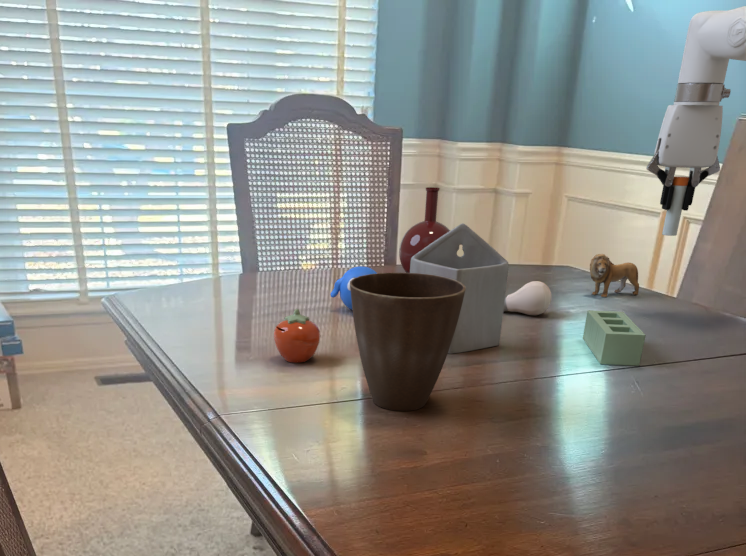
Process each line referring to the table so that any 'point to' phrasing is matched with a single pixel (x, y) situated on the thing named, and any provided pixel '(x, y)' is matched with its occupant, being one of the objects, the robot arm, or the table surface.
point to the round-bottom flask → (422, 231)
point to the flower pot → (404, 333)
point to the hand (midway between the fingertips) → (674, 208)
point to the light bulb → (529, 299)
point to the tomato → (296, 338)
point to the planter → (469, 284)
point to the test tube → (675, 206)
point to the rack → (613, 338)
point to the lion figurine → (612, 274)
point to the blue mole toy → (344, 283)
